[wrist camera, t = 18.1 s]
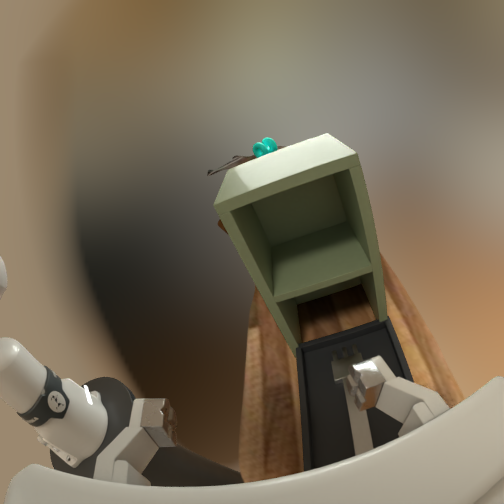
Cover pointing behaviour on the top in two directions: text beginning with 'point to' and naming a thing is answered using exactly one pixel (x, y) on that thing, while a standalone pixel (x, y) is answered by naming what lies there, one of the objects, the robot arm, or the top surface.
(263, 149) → the turquoise spool
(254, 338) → the top surface
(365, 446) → the fork
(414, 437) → the robot arm
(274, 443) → the top surface
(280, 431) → the top surface
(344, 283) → the shelf
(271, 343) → the top surface
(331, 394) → the tray
